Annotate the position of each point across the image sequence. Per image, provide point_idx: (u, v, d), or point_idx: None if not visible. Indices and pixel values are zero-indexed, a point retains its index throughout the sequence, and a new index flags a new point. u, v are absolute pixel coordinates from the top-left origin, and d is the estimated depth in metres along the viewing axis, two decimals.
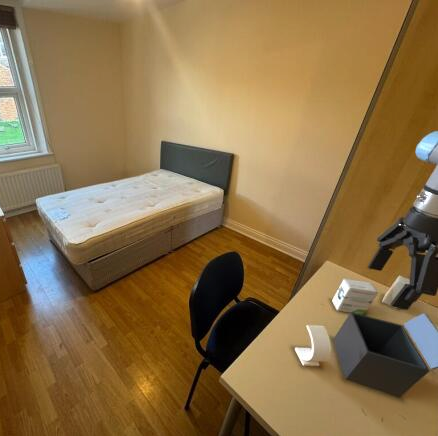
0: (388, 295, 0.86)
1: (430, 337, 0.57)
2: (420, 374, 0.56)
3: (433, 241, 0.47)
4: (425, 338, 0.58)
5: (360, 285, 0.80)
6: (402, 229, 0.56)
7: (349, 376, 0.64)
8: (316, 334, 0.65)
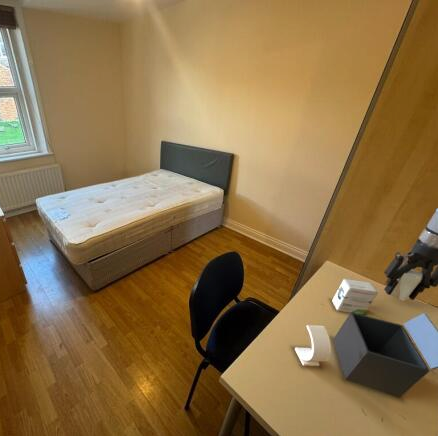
0: (395, 287, 0.84)
1: (430, 337, 0.57)
2: (420, 374, 0.56)
3: None
4: (425, 338, 0.58)
5: (360, 285, 0.80)
6: None
7: (349, 376, 0.64)
8: (316, 334, 0.65)
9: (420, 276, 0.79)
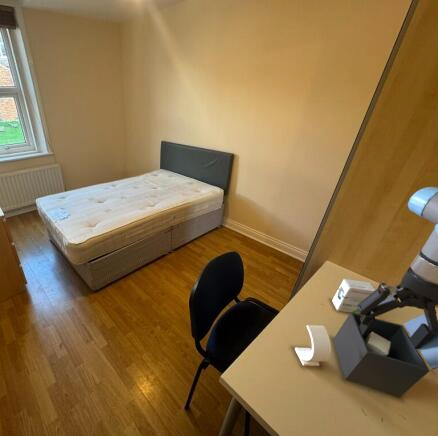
0: None
1: None
2: (420, 374, 0.56)
3: None
4: None
5: (360, 285, 0.80)
6: None
7: (349, 376, 0.64)
8: (316, 334, 0.65)
9: (387, 348, 0.61)
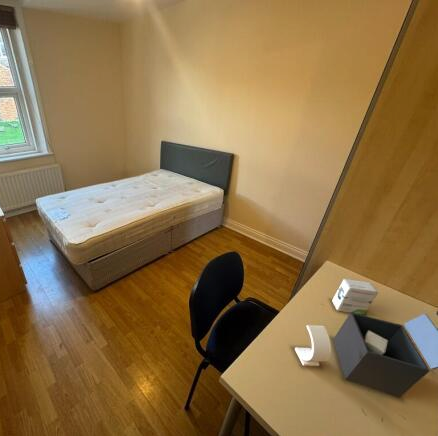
0: None
1: (430, 338, 0.57)
2: (420, 374, 0.56)
3: None
4: (425, 338, 0.58)
5: (360, 285, 0.80)
6: None
7: (349, 376, 0.64)
8: (316, 334, 0.65)
9: (384, 347, 0.62)
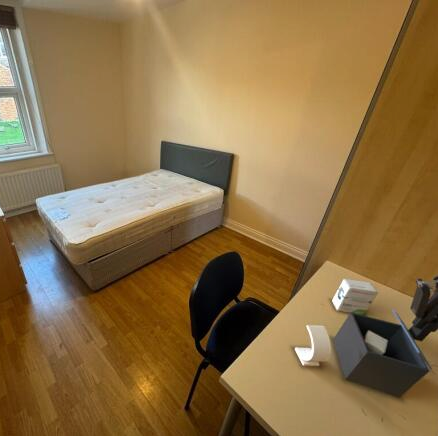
0: None
1: None
2: (420, 374, 0.56)
3: None
4: (409, 336, 0.60)
5: (360, 285, 0.80)
6: None
7: (349, 376, 0.64)
8: (316, 334, 0.65)
9: (384, 347, 0.62)
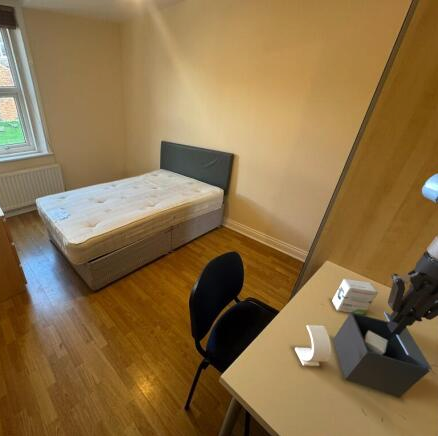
0: None
1: None
2: (420, 374, 0.56)
3: None
4: None
5: (360, 285, 0.80)
6: None
7: (349, 376, 0.64)
8: (316, 334, 0.65)
9: (384, 347, 0.62)
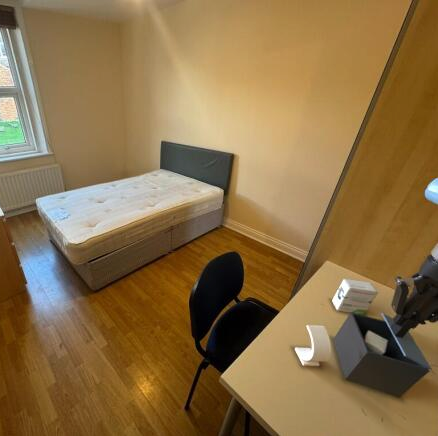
0: None
1: None
2: (420, 374, 0.56)
3: None
4: None
5: (360, 285, 0.80)
6: None
7: (349, 376, 0.64)
8: (316, 334, 0.65)
9: (384, 347, 0.62)
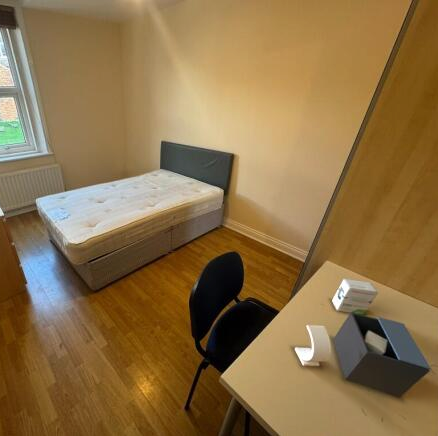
0: None
1: None
2: (420, 374, 0.56)
3: None
4: None
5: (360, 285, 0.80)
6: None
7: (349, 376, 0.64)
8: (316, 334, 0.65)
9: (384, 347, 0.62)
